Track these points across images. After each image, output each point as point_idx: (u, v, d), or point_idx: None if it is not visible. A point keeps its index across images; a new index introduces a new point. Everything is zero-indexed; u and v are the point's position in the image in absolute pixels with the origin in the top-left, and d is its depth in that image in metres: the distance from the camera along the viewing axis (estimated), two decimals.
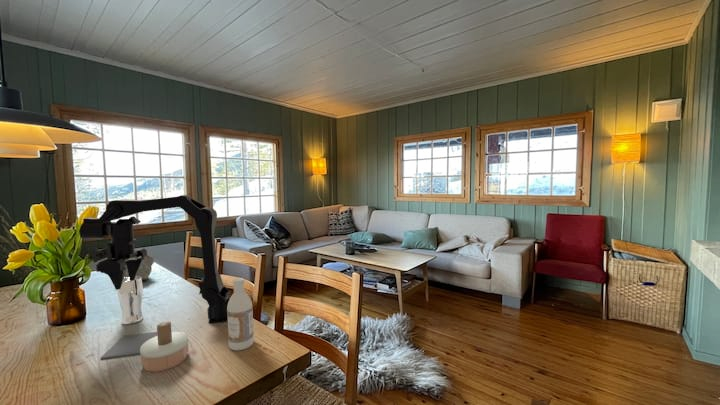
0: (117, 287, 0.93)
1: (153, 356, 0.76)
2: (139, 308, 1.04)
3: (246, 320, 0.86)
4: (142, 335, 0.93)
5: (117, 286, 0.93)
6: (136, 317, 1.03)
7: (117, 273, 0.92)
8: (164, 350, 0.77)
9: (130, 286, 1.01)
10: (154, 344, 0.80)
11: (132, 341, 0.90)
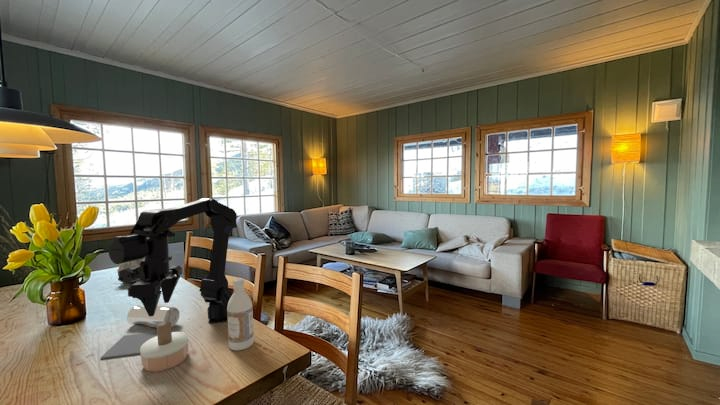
0: (150, 313, 0.79)
1: (153, 356, 0.76)
2: None
3: (246, 320, 0.86)
4: (142, 335, 0.93)
5: (151, 312, 0.79)
6: None
7: (150, 298, 0.78)
8: (164, 350, 0.77)
9: None
10: (154, 344, 0.80)
11: (132, 341, 0.90)
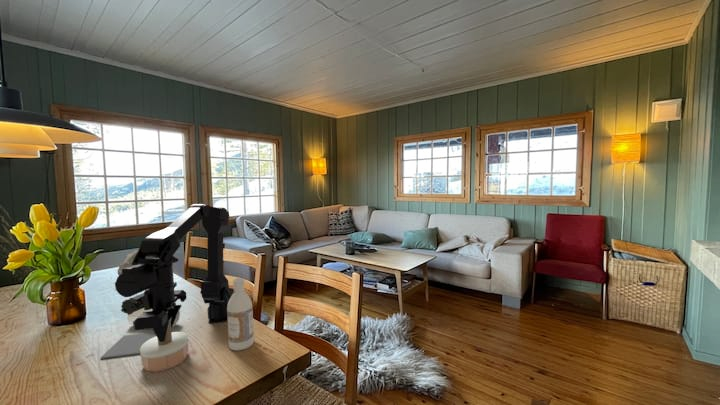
0: (161, 339, 0.79)
1: (153, 356, 0.76)
2: None
3: (246, 320, 0.86)
4: (142, 335, 0.93)
5: (161, 338, 0.79)
6: None
7: None
8: (164, 350, 0.77)
9: None
10: (154, 344, 0.80)
11: (132, 341, 0.90)
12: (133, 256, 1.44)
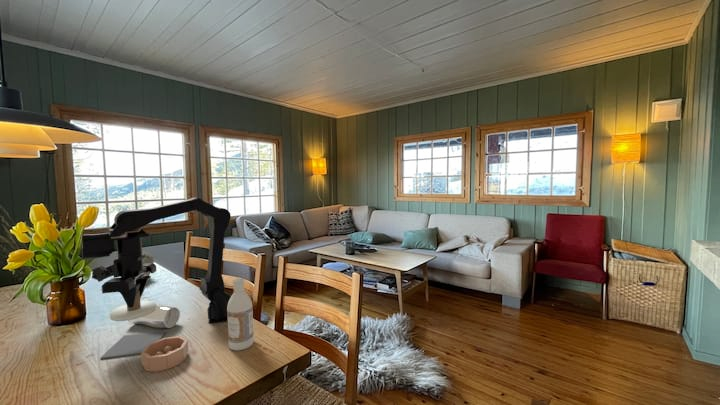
0: (130, 305, 0.86)
1: (121, 319, 0.83)
2: None
3: (246, 320, 0.86)
4: (142, 335, 0.93)
5: (130, 304, 0.86)
6: None
7: (130, 290, 0.85)
8: (132, 314, 0.84)
9: None
10: (123, 310, 0.87)
11: (132, 341, 0.90)
12: None
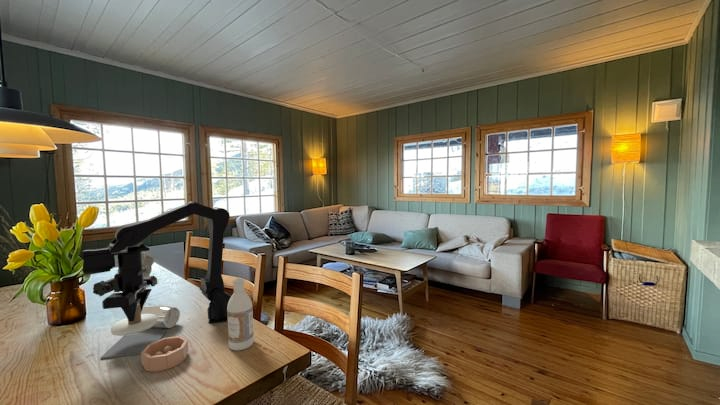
0: (131, 319, 0.87)
1: (122, 333, 0.83)
2: None
3: (246, 320, 0.86)
4: (142, 335, 0.93)
5: (131, 318, 0.86)
6: None
7: (130, 304, 0.85)
8: (133, 328, 0.85)
9: None
10: (124, 324, 0.88)
11: (132, 341, 0.90)
12: None
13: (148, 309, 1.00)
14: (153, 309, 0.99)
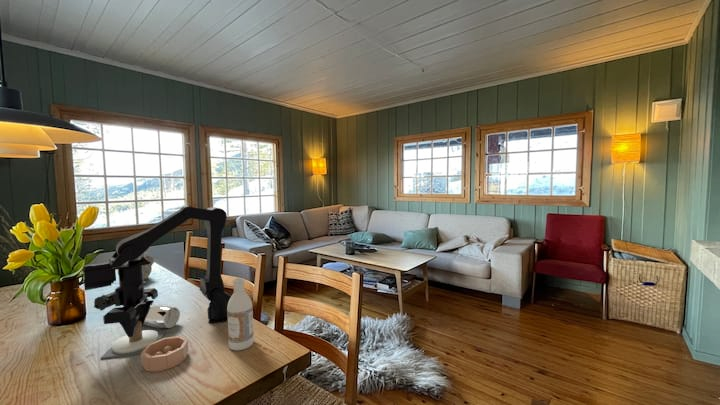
0: (129, 334, 0.86)
1: (123, 352, 0.84)
2: None
3: (246, 320, 0.86)
4: None
5: (130, 334, 0.86)
6: None
7: (129, 320, 0.85)
8: (134, 346, 0.85)
9: None
10: (125, 341, 0.88)
11: None
12: None
13: None
14: (153, 309, 0.99)
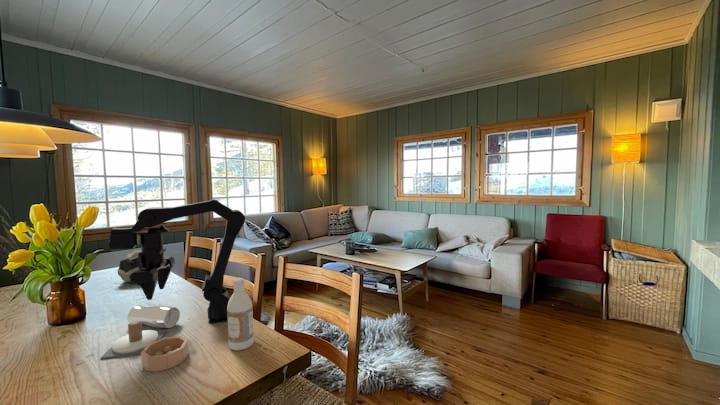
0: (149, 297, 0.92)
1: (123, 352, 0.84)
2: None
3: (246, 320, 0.86)
4: None
5: (149, 296, 0.91)
6: None
7: (149, 283, 0.90)
8: (134, 346, 0.85)
9: None
10: (125, 341, 0.88)
11: None
12: (133, 256, 1.44)
13: (148, 309, 1.00)
14: (153, 309, 0.99)
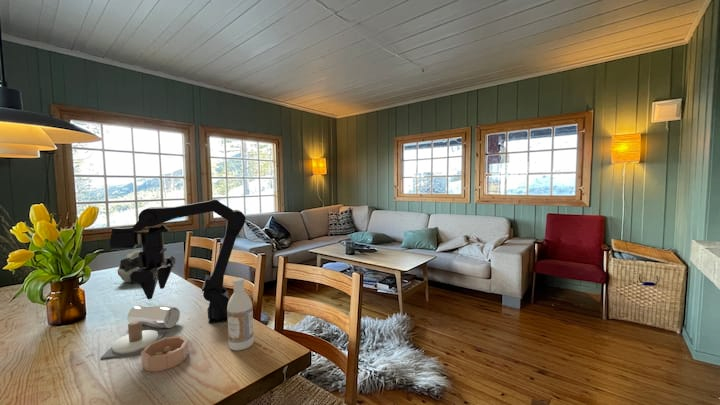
0: (149, 297, 0.92)
1: (123, 352, 0.84)
2: None
3: (246, 320, 0.86)
4: None
5: (149, 296, 0.92)
6: None
7: (149, 283, 0.91)
8: (134, 346, 0.85)
9: None
10: (125, 341, 0.88)
11: None
12: (133, 256, 1.44)
13: (148, 309, 1.00)
14: (153, 309, 0.99)
